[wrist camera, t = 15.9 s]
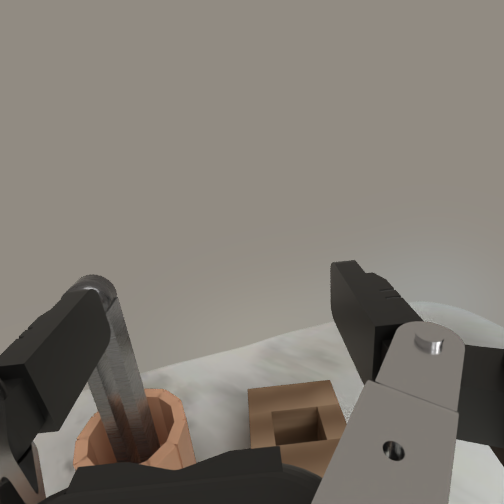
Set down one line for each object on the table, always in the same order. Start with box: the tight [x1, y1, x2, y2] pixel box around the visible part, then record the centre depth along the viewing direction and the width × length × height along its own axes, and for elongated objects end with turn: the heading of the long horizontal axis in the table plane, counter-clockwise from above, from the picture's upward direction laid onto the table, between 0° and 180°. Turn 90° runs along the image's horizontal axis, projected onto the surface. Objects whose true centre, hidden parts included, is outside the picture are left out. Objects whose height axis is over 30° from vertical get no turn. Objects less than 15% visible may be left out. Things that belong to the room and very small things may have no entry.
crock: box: [73, 389, 196, 471], centre depth 28 cm, size 9×9×8 cm
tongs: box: [61, 275, 160, 464], centre depth 26 cm, size 3×3×21 cm
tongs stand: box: [248, 380, 347, 478], centre depth 30 cm, size 10×9×5 cm
